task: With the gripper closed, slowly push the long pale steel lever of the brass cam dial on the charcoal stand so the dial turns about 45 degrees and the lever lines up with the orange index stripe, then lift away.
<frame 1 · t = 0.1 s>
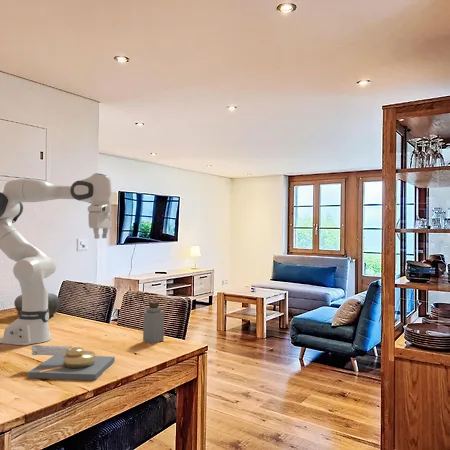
hand: (100, 238, 190), 48 cm above the table, fingers open, 8 cm apart
stand plate: (73, 369, 152), on the table
perfume bottle: (153, 341, 192), on the table
cam dial: (63, 354, 152), point 5 cm above the table, hinge at 0.0°
gourd: (37, 316, 242), on the table
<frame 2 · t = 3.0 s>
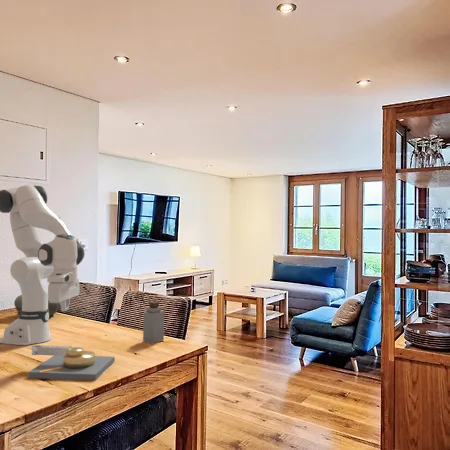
hand: (64, 310, 161), 20 cm above the table, fingers closed
nothing on the table moved.
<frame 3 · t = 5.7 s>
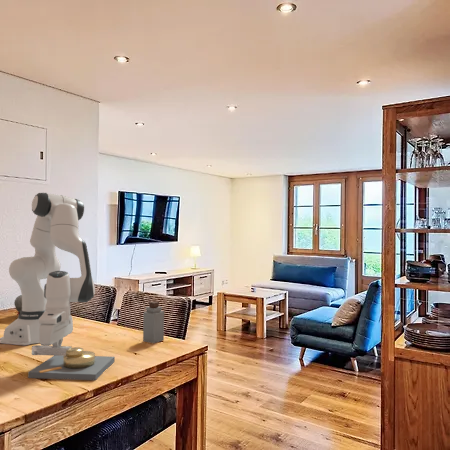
hand: (57, 351, 155), 6 cm above the table, fingers closed
cam dial: (62, 354, 152), point 5 cm above the table, hinge at 0.6°, touching gripper
everything else where it was.
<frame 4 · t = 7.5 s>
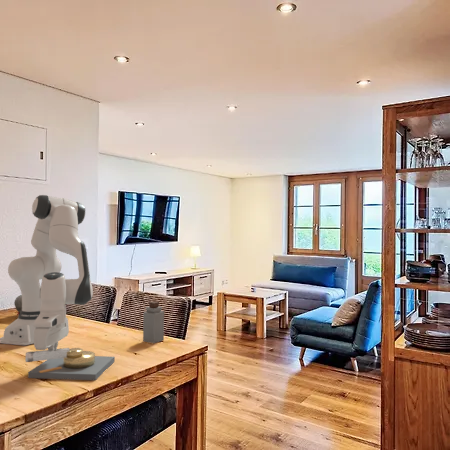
hand: (52, 354, 150), 6 cm above the table, fingers closed
cam dial: (61, 357, 149), point 5 cm above the table, hinge at 28.7°, touching gripper
everything else where it was.
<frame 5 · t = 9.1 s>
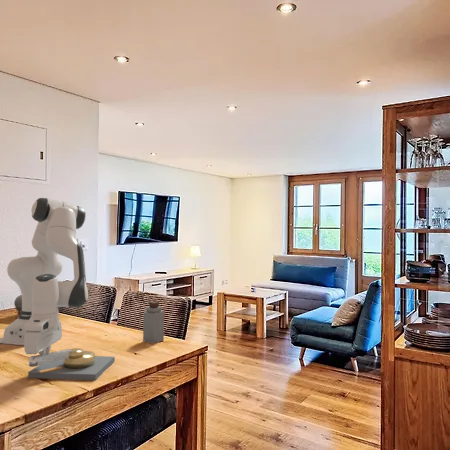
hand: (44, 359, 146), 6 cm above the table, fingers closed
cam dial: (62, 359, 147), point 5 cm above the table, hinge at 49.0°, touching gripper
everything else where it was.
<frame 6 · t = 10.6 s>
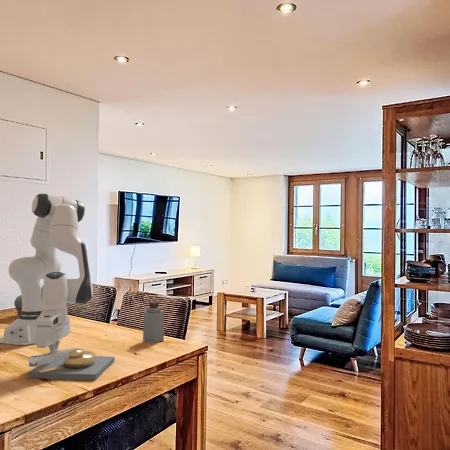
hand: (53, 353, 153), 5 cm above the table, fingers closed
cam dial: (62, 359, 147), point 5 cm above the table, hinge at 49.1°
everything else where it was.
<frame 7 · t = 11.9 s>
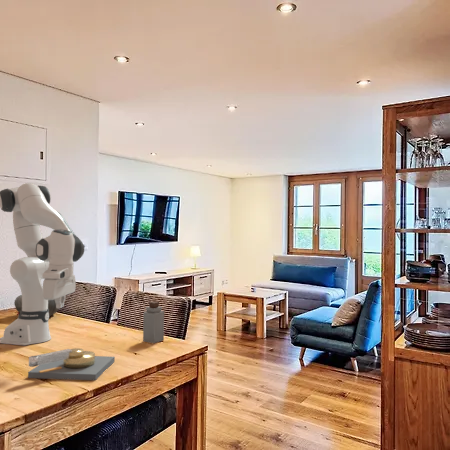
hand: (59, 307, 157), 22 cm above the table, fingers closed
nothing on the table moved.
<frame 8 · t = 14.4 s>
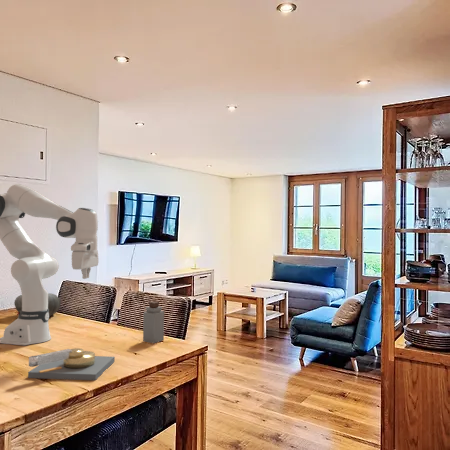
hand: (85, 278, 174), 31 cm above the table, fingers closed
nothing on the table moved.
at the end: cam dial at +49° (first picture: +0°); perfume bottle moved 0.2 cm from its start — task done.
